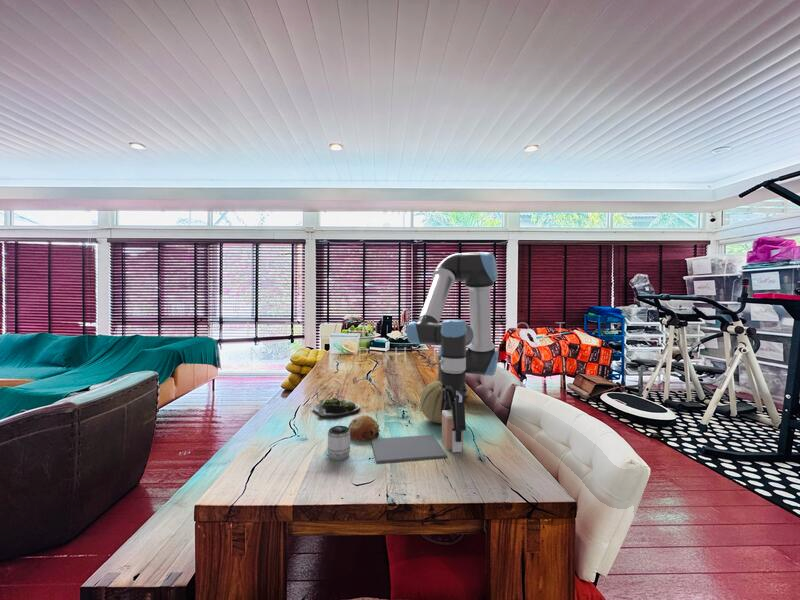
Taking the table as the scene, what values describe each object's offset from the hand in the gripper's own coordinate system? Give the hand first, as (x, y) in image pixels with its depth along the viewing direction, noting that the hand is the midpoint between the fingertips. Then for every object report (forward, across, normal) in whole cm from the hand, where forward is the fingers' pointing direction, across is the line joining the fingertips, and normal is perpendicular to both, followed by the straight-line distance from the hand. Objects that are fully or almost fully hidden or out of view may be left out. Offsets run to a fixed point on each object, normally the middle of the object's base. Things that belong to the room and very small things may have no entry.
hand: (451, 444), depth 103 cm
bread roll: (+1, -12, -26) cm, 28 cm away
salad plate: (+1, -37, -35) cm, 50 cm away
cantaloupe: (0, -19, +2) cm, 19 cm away
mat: (0, 0, -14) cm, 14 cm away
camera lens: (+1, +1, -34) cm, 34 cm away
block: (0, 0, 0) cm, 0 cm away
